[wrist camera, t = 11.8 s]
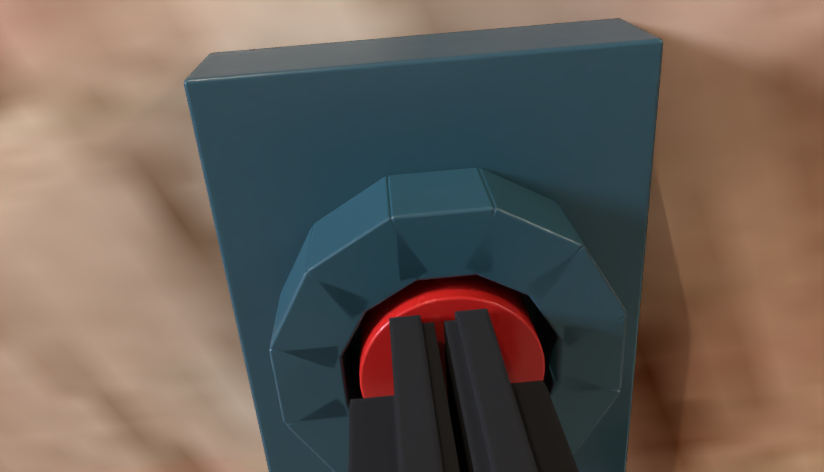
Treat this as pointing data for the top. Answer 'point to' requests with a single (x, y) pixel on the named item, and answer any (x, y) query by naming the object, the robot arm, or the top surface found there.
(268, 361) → the button block
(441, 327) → the button
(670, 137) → the top surface
